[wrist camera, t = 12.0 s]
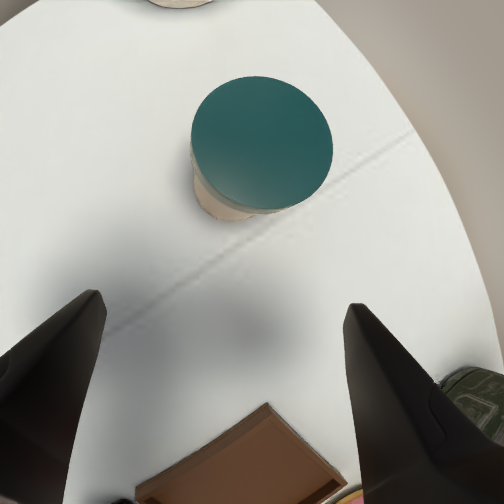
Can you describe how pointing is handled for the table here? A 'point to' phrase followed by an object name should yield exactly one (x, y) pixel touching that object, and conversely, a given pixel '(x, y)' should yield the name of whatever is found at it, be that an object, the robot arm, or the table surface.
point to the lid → (260, 145)
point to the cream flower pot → (180, 3)
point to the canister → (480, 399)
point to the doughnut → (353, 498)
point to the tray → (248, 469)
